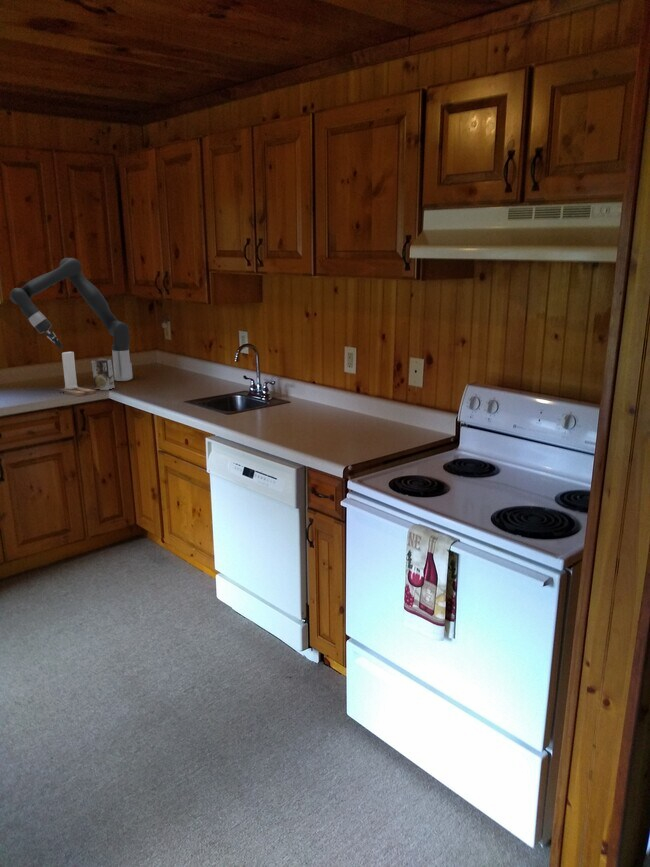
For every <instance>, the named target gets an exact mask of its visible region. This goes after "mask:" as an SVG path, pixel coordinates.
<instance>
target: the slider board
mask: <svg viewBox="0 0 650 867" xmlns="http://www.w3.org/2000/svg"><path fill="white" fill-rule="evenodd" d="M58 392H59V393H60V392H64V393H63V394H65V393H70V394H73V395H72V396H76V397H83V396H88V395H92V394H96V393H97V390H94V389H92V388H86V387H81V386H78V388H74V389H65V388H61V389H59V390H58ZM70 394H69V395H70Z"/></svg>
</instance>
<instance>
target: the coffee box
mask: <svg viewBox="0 0 650 867" xmlns="http://www.w3.org/2000/svg"><path fill="white" fill-rule="evenodd" d="M91 369H92V376H93V377H92V378H93V387H94V388H93V390H94V389H100V390H99V391H110V390H109V389H112V388H114V389H115V388H116V387H115V377H114V366H113V358H95V359H92V360H91ZM112 390H113V389H112Z"/></svg>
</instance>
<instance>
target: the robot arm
mask: <svg viewBox="0 0 650 867" xmlns="http://www.w3.org/2000/svg"><path fill="white" fill-rule="evenodd" d="M66 279H68V280H69V281H70V282H71V283H72V284H73V285H74V287H75V288H76V289H77V291H78V293H79V294H80V295H81V298H83V299H84V301H85V302H86V304H87V305H88V306H89V307H90V309H91V310H92V311H93V312H94V314H96V316H97V317H98V318H99V319H100V320H101V321H102V323H103V325H104V326H105V328H106V330H107V331H108V333H109V335H111V337H113V344H112V345H111V351H112V352H111V353H112V364H113V375H114V381H117V382H125V381H130V380H133V378H134V376H133V366H132V362H131V358H130V344H131V341H130V337H131V336H130V328H129V326H128V324H127V323H125V322H123V321H120V320H119V319H117V318H116V316H115V314H113V313H112V311H111V309H110V306H109V303H108V302H107V300H106V298H105V297H104V296H103V294H102V293H101V292H100V290H99V289H98V288H97V287H96V286H95V285H94V284H93V283H91V281H90V280H88V279H87V278H86V276H85V275H84V274H83V272H82V263H81V262H80V260H79V259H77V258H74V257H64V258H62V259H61V260H60V262H59V266H58V267H57V268H54V269H53V270H52V271H49V272H47V273H43V274H42V275H39V276H37V277H35V278H33V279H31V280H29V281H27V282H26V283H25V284H24V285H23V286H21V287H15V288H12V290H11V291H10V294H9V299H10V302H12V303H13V304H15V305H18V307H19V308H20V310H21V313H22V314H23V315H24V316H25V318H26V319H27V320H28V321H29V323H30V325H32V326H33V328H34V329H35V330H36V331H37V332H38V334H43V333H45V336H46V337H47V339H49V340H50V342H52V343H53V344H54V345H55V347H56V348H58V349H59V350H61V349H63V348H64V346H63V344H62V343H61V342H60V340H59V338H58V337H57V335H56V334H55V332H54V330H51V328H52V326H53V324H52V323H51V322H50V321H49V320H48V318H47V317H46V316H45V315H44V313H42V312H41V311H40V310H39V309H38V308H37V306H36V305H35V304H34V303H33V301H32V300H31V298H32V297H34V296H35V295H37V294H40V293H41V292H44V291H45V290H46V289H48V288H50V287H52V286H53V285H56V284H58V283H60V282H61V281H64V280H66Z"/></svg>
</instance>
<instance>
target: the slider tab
mask: <svg viewBox="0 0 650 867" xmlns="http://www.w3.org/2000/svg"><path fill="white" fill-rule="evenodd" d="M61 360H62V366H63V367H62V369H63V377H64V389H74V388H78V387H79V386H78V382H77V372H76V364H75V362H76V361H75V352H74V351H64V352H62V353H61Z"/></svg>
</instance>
